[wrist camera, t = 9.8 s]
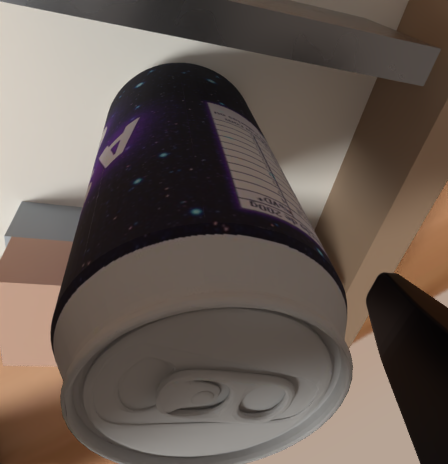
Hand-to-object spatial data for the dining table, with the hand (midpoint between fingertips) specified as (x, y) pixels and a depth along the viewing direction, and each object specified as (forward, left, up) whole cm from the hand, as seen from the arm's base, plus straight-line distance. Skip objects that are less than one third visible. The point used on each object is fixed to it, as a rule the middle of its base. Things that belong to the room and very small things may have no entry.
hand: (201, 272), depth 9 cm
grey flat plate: (+5, 0, -9) cm, 10 cm away
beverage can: (0, 0, -9) cm, 9 cm away
